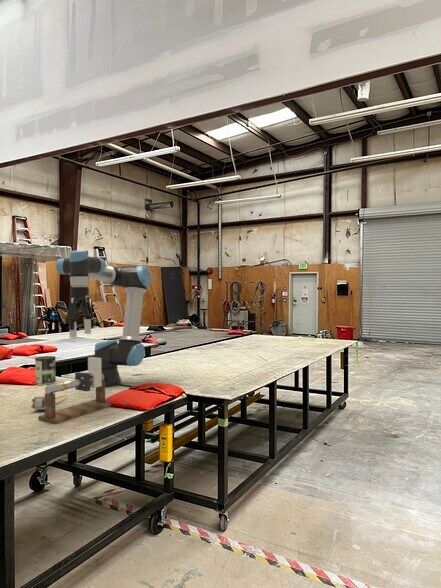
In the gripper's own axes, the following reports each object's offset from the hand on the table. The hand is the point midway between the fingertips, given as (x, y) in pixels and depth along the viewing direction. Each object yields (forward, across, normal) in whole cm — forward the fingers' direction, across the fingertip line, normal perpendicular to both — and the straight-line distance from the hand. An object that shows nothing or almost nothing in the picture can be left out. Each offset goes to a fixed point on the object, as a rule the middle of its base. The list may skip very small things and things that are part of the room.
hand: (80, 335), depth 174 cm
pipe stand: (+30, +10, +2) cm, 32 cm away
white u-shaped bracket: (+21, +2, +6) cm, 22 cm away
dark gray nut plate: (+22, +7, +4) cm, 23 cm away
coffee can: (+31, -41, -41) cm, 66 cm away
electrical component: (+31, -1, -15) cm, 34 cm away
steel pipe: (+20, +9, +2) cm, 22 cm away
